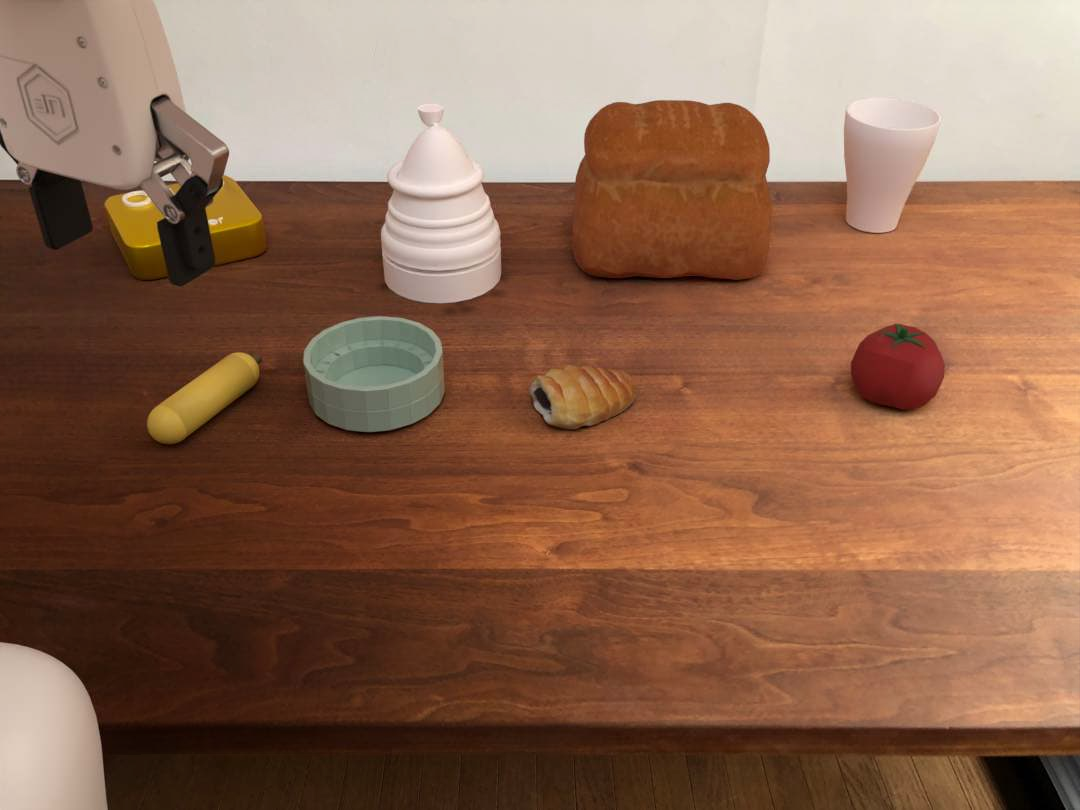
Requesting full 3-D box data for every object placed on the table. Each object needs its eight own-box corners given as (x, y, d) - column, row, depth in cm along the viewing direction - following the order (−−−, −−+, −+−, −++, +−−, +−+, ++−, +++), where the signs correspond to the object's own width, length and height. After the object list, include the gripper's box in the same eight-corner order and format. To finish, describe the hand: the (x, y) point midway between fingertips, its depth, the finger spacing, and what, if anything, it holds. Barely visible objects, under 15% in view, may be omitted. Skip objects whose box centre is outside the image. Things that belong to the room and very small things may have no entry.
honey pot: (375, 255, 120) (360, 99, 109) (485, 241, 122) (481, 88, 112) (394, 310, 109) (380, 144, 99) (514, 294, 112) (513, 131, 102)
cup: (927, 242, 123) (954, 130, 115) (837, 241, 123) (858, 129, 115) (903, 204, 131) (926, 97, 124) (818, 203, 131) (836, 97, 124)
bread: (571, 219, 127) (574, 80, 118) (748, 220, 127) (767, 82, 118) (573, 289, 113) (577, 138, 103) (773, 291, 113) (796, 141, 103)
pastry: (614, 376, 100) (616, 342, 97) (649, 415, 95) (652, 380, 92) (523, 399, 96) (523, 364, 94) (554, 440, 92) (555, 405, 89)
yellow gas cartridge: (160, 417, 87) (131, 415, 89) (177, 454, 89) (148, 451, 91) (266, 340, 97) (238, 339, 99) (279, 374, 99) (251, 373, 100)
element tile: (136, 285, 114) (127, 245, 111) (109, 230, 124) (99, 192, 121) (272, 254, 120) (266, 215, 117) (234, 204, 130) (228, 168, 127)
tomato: (833, 400, 97) (847, 333, 92) (868, 362, 102) (883, 297, 98) (918, 432, 93) (936, 364, 89) (950, 391, 98) (969, 324, 94)
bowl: (397, 452, 90) (392, 404, 87) (282, 413, 94) (274, 367, 92) (468, 381, 99) (467, 335, 96) (361, 349, 103) (356, 304, 100)
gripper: (-128, -54, 53) (-25, 252, 63) (129, -12, 47) (199, 321, 57) (-4, -81, 58) (73, 205, 68) (241, -47, 52) (287, 262, 62)
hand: (130, 257), depth 63 cm, fingers open, 9 cm apart
